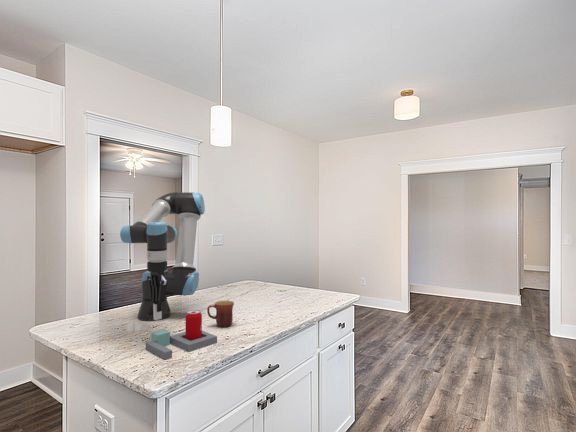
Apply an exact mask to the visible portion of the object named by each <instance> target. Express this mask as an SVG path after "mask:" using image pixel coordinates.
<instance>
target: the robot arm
mask: <svg viewBox="0 0 576 432" xmlns="http://www.w3.org/2000/svg"><path fill="white" fill-rule="evenodd" d="M205 212H206V210H205V200H204V196H203V195H202V194H201V192H195V191H193V192H185V191H184V192H176V191H175V192H169V193H165V194H163V195H161V196H159V197H158V198H157V199H155V200H154V201H153V202H152V204H151V207H150V208H149V209H147V211H146V212H144V214H142V215H141V217H139V218H138V219H137V220H136V221H135V222H134V223H133V224H132V225H123V226H122V227H121V229H120V234H119V236H120V240H121V241H122V242H123V243H124V244H146V258H147V259H146V260H147V262H146V267H147V268H146V271H144V272H143V273H142V277H141V302H140V303H141V304H140V306H139V308H138V311H137V319H138V320H140V321H145V322H146V321H158V320H159V321H160V320H164V319H166V318H169V317H171V315H172V314H171V313H172V312H171V311H172V310H171V308H170V305H169V302H168V296H183V297H185V296H192V295H195V293H196V291H197V288H198V285H199V282H200V281H199V280H200V273H199V272H198V271H197V268H196V267H195V265H194V261H195V260H194V259H195V249H196V247H195V246H196V239H197V238H196V237H197V227H198V221H199V220H200V219H201V216H202V215H204V214H205ZM168 215H177V217H178V218H179V219H180V220H179V229H178V230H177V229H176V227H174V225H169V224H167V223H166V222H164V221H162V220H163V219H164V218H165V217H167V216H168ZM177 237H178V238H177ZM176 239H178V240H177V249H176V256H175V257H176V258H175V264H174V265H173V266H172V267H171V271H168V261H167V260H168V244H170V243H172V242H174V241H175V240H176Z"/></svg>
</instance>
